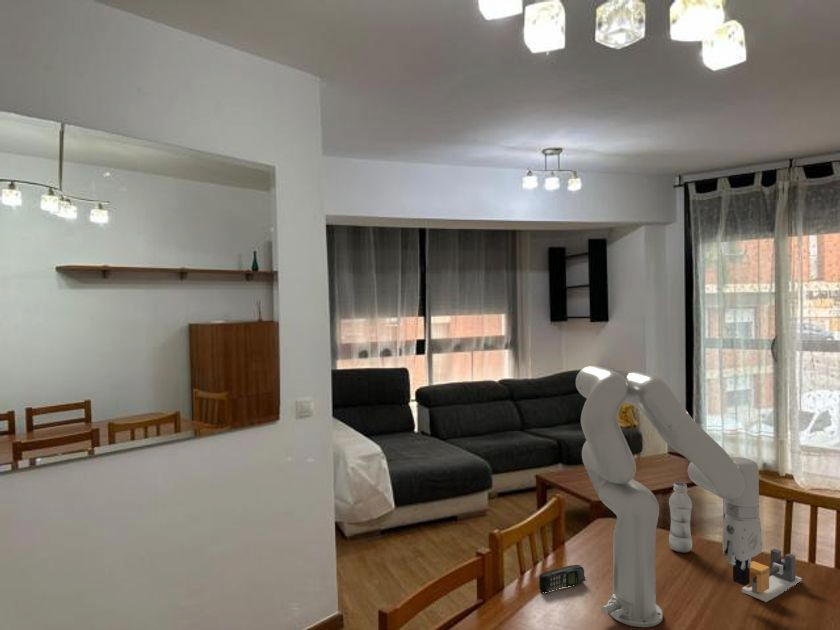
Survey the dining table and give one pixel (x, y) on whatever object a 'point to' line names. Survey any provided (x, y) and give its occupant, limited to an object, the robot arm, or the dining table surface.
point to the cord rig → (776, 577)
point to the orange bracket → (759, 576)
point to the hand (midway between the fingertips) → (741, 582)
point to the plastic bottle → (680, 519)
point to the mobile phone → (561, 578)
